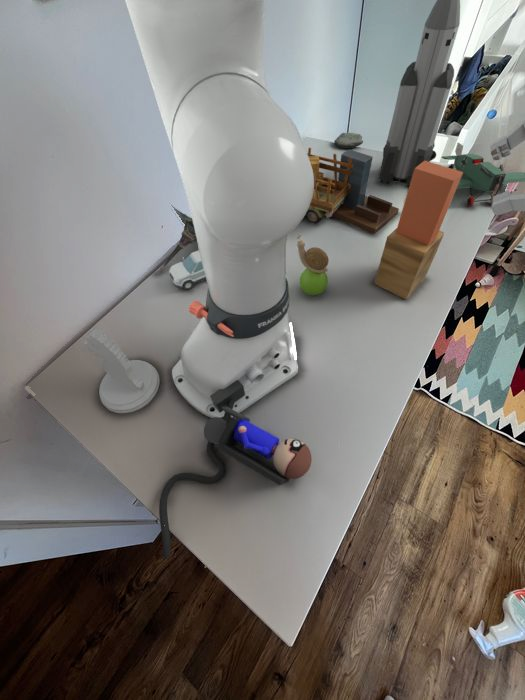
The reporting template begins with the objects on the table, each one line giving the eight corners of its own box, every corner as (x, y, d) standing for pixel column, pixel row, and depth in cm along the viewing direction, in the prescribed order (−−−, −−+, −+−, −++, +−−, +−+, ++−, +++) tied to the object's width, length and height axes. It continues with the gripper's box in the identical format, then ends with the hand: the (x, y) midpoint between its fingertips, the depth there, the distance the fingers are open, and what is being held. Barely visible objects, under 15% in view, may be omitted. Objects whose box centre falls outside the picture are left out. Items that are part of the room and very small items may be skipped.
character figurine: (229, 413, 54) (314, 463, 48) (200, 451, 50) (289, 510, 44) (224, 386, 47) (321, 440, 42) (190, 426, 44) (292, 491, 38)
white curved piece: (128, 354, 61) (89, 295, 49) (171, 375, 58) (140, 317, 46) (88, 398, 56) (34, 344, 44) (132, 423, 53) (87, 373, 41)
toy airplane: (544, 205, 78) (570, 153, 70) (433, 216, 79) (447, 166, 71) (494, 171, 93) (511, 126, 86) (402, 181, 94) (411, 137, 87)
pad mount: (374, 234, 77) (387, 180, 67) (324, 213, 83) (329, 159, 73) (397, 214, 81) (413, 159, 71) (348, 195, 87) (356, 142, 77)
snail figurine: (302, 277, 70) (304, 226, 61) (331, 287, 68) (338, 235, 58) (289, 293, 68) (290, 243, 58) (319, 304, 65) (324, 254, 56)
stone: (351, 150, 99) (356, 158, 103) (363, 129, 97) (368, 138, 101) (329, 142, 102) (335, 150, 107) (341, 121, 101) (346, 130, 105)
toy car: (169, 278, 72) (162, 259, 68) (223, 256, 75) (220, 237, 71) (179, 294, 69) (172, 276, 65) (235, 271, 72) (232, 252, 68)
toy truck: (264, 184, 92) (260, 122, 80) (349, 209, 83) (358, 143, 71) (241, 204, 88) (232, 141, 75) (328, 233, 78) (334, 167, 66)
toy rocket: (375, 183, 89) (415, -9, 61) (381, 167, 93) (422, -19, 65) (421, 190, 86) (486, -10, 57) (425, 173, 90) (488, -20, 62)
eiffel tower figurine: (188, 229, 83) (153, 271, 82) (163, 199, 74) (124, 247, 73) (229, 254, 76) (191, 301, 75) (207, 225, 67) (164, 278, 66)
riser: (406, 299, 65) (424, 252, 56) (374, 283, 68) (387, 236, 59) (424, 280, 68) (444, 232, 59) (392, 265, 71) (407, 217, 62)
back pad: (427, 245, 57) (453, 180, 48) (395, 232, 60) (414, 168, 51) (436, 236, 58) (463, 172, 49) (404, 224, 61) (424, 160, 52)
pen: (453, 167, 92) (457, 164, 91) (429, 196, 85) (433, 193, 84) (450, 163, 92) (455, 160, 91) (426, 191, 85) (430, 188, 83)
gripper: (646, 11, 33) (483, 103, 43) (698, 150, 25) (484, 223, 35) (649, 70, 37) (498, 142, 47) (695, 207, 29) (501, 259, 39)
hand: (492, 178), depth 41 cm, fingers open, 8 cm apart
